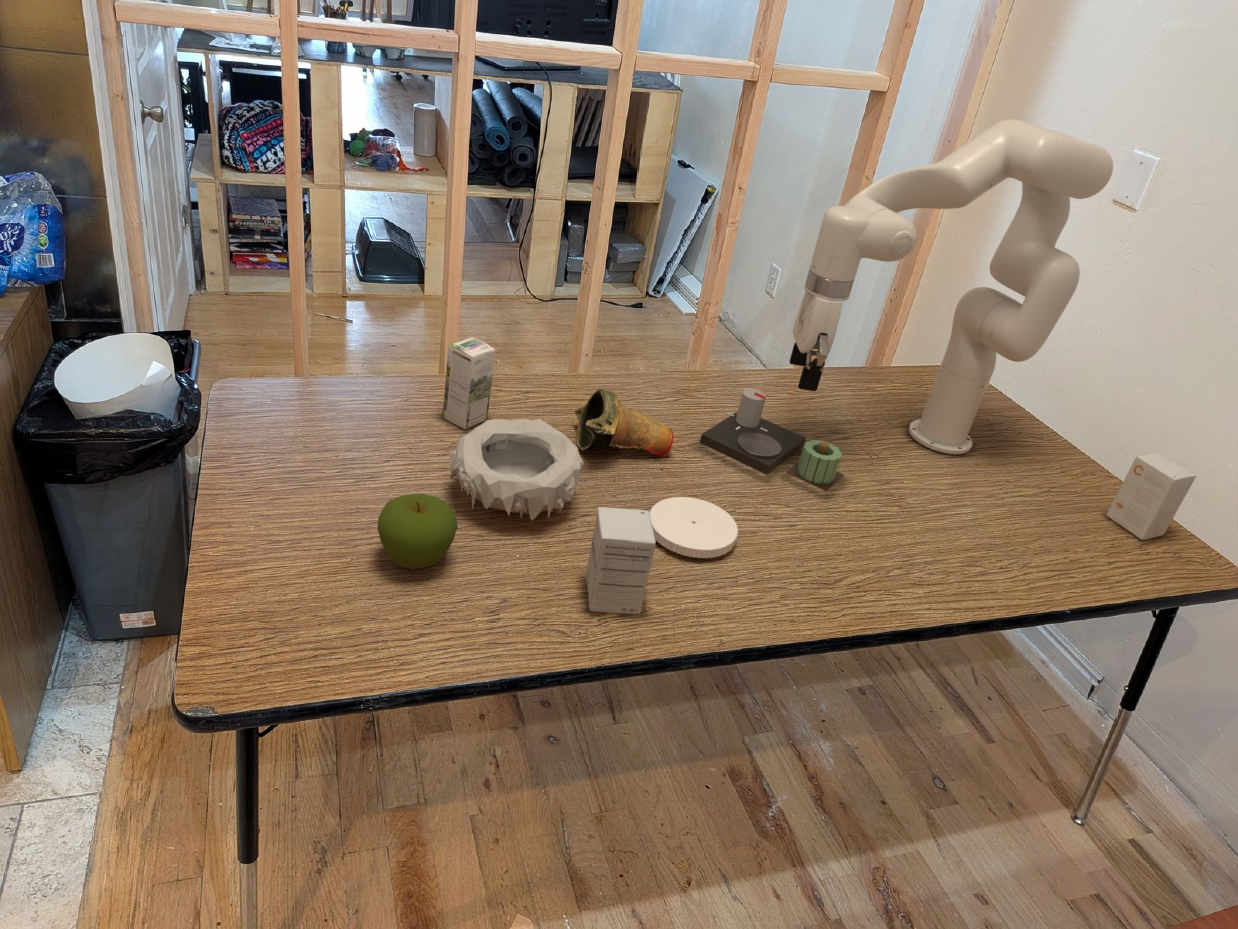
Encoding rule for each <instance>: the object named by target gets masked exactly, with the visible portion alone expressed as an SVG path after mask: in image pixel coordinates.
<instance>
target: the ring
mask: <svg viewBox="0 0 1238 929" xmlns="http://www.w3.org/2000/svg"><path fill="white" fill-rule="evenodd" d="M820 442H826V441H824V440H819V439H811V440H807V441H805V442H804V446H803V447H802V451H801V454H800V457H799V461H798V462H799V464H798V467H797V471H798V472H799V474H800V475H801V476H802V477H805V478H804V479H806V480H808V481H811V482H812V481H813V482H814V483H819V484H821V483H822V484H827V483H831V482H832V481H833V480H834V478H835V475H836V472H838V468H839V466H840V462H841V459H842V457H843V454H842V451H841V449H840V448H839V447H837V446H835V444H832V443H830V442H828V441H827V442H826V443H828V444H829V445H830V447H829V450H828V453H827V456H826V455H821V454H819V453H817V450H818V447H819V444H820Z"/></svg>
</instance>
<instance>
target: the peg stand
mask: <svg viewBox="0 0 1238 929" xmlns="http://www.w3.org/2000/svg"><path fill="white" fill-rule="evenodd" d="M828 443H829V442H828ZM828 443H827V442H826V441H825V442H820V444H819V447H818V450H817V453H819V454H821V455H826V456H827V453H828V450H829V447H830V445H829V444H828ZM798 464H799V461H798V462H796V463H795V464H794V465H793V466H792V467H790V468H789V469H788V470H786V471H785V473H786V474H787V475H790V476H792V477H794V478H796V479H799V480H800V481H803V482H805V483H807V484H810V485H811V486H813V487H816V488H818V489H819V490H822V491H824V492H826V493H827V492H828V491H830V489H831V488H832V487H834V486H835V484H837V483H838V482H839V481H840V480H841V479H842V478H844V477H845V474H843V473H841V472H839V471H837V472H836V475H835V478H834V480H833V481H832V482H831V483H827V484H822V483H821V484H819V483H814V482H813V481H812V482H811V481H808V480H806V479H804V478H805V477H802V476H801V475H800V474H799V472H798V471H797V467H798Z"/></svg>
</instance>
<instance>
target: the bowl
mask: <svg viewBox="0 0 1238 929" xmlns="http://www.w3.org/2000/svg"><path fill="white" fill-rule="evenodd" d="M449 460H450V464H449V468H450V474H451V475H450V476H449V478H450V479H452V480H453V479H454V477H455V476H456V478H457V480H458V484H459V485H460V488H461V490H463V491H465V492H466V497H467V498H469V496H471V505H472V507H471V508H474V506H475V502H476V500H477V501H479V502H481V503H482V506H483V508H485V509H486V510H488V509H489V508H491V509H495V510H500V511H505V512H506V514H507V515H508V516H510V514H511V513H514V514H519V515H520V519H522V517H523V514H528V515H529V518H530V520H531V521H534V520H535V519H536V518H537V517H538V516H539V515H540V513H541V512H544V511H547V518H548V519H549V518H550V515H551V512H553V511H554V509H555V510H557V513H559V514H560V512H562V509H563V508H564V505H565V503H567V502H568V503H569V502H570V501H572V500H573V497H574V494H575V491H576V488H577V486H578V485H579V481H580V480H579V479H580V473H582V472H583V469H584V465H585V463H584V461H583V458H582V457H581V455H580V452H579V447H577V445H576V444H575V443H574V442H573V441H572V440H571V439H570V438H569V437H568V436H567V435H566V434H565V433H564V432H562V431H560V430H558V429H557V428H554V426H552V425H550V424H549V423H547V422H546V421H544V420H543V419H541V418H538V419H528V418H515V419H512V420H511V419H510V420H508V419H500V418H494V419H487V421H485V422H482V423H480V424H479V425H477V426H476V427H475V428H474V429H473V430H471V431H469V432H468V433H466V434H464V435H463V436H461V437H460V438H458V439H457V442H456V447H455V449H453V450H451V453H449Z"/></svg>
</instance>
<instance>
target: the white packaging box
mask: <svg viewBox="0 0 1238 929" xmlns="http://www.w3.org/2000/svg"><path fill="white" fill-rule="evenodd" d="M649 512H650V510H646V509H645V510H644V509H632V508H621V507H620V508H619V507H605V506H603V507H602V506H598V507H597V512H596V517H595V523H594V529H593V535H592V540H591V545H590V550H589V557H588V562H587V568H586V574H585V581H586V587H587V589H586V590H587V599H588V600H587V601H588V611H589V612H595V613H607V614H609V613H611V614H623V615H640V614H641V613H642V609H643V608H642V607H643V602H644V599H645V594H646V588H647V584H648V581H649V576H650V571H651V567H652V562H653V559H654V553H655V549H656V548H655V547H656V542H657V540H655V537H654V532H653V527H652V523H651V518H650V513H649Z"/></svg>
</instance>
